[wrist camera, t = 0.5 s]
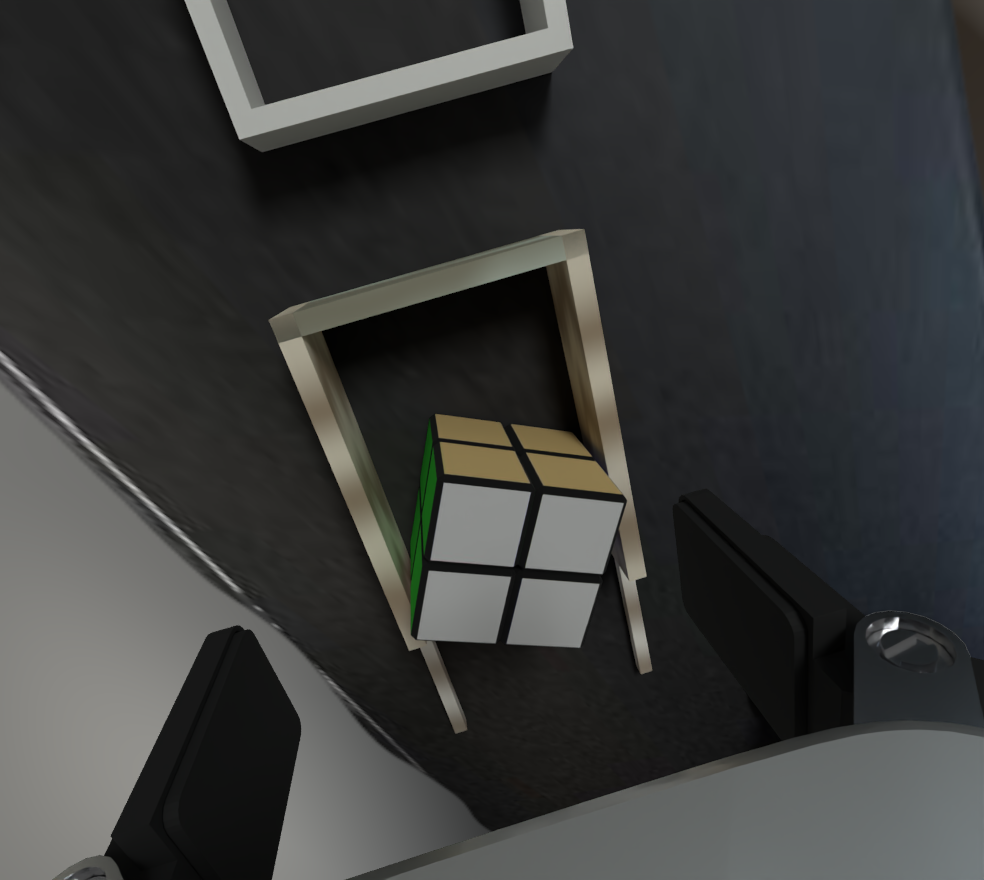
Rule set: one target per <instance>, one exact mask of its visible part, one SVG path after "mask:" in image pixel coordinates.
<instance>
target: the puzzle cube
mask: <svg viewBox="0 0 984 880" xmlns="http://www.w3.org/2000/svg"><path fill="white" fill-rule="evenodd" d="M626 504H627V499H626V498H625V496H624V495H623V493H622V492H621V491H620V490H619V489H618V487H617V486H616V485H615V484H614V482H613V481H612V480H611V479H610V478H609V476H608V475H607V474H606V473H605V472H604V470H603V469H602V468H601V467H600V465H599V464H598V463H597V462H596V461H595V459H594V458H593V457H592V455H591V454H590V453H589V452H588V451H587V449H586V448H585V447H584V446H583V445H582V443H581V442H580V441H579V440H578V439H577V437H576V436H575V435H574V434H573V433H572V432H568V431H560V430H553V429H545V428H538V427H530V426H522V425H515V424H509V425H508V426H507V427H505V428H504V427H503V425H502V424H501V423H500V422H493V421H485V420H478V419H470V418H462V417H455V416H447V415H440V414H434V415H433V416H431V417H430V418H429V424H428V431H427V437H426V444H425V450H424V457H423V463H422V470H421V476H420V487H419V491H418V497H417V504H416V510H415V517H414V523H413V530H412V536H411V636H412V637H413V638H414V639H415V640H423V641H443V642H463V643H483V644H495V643H497V642H498V641H499V640H501V642H502V643H503V644H504V645H519V646H539V647H559V648H581V647H582V646H583V645H584V642H585V639H586V635H587V632H588V629H589V625H590V622H591V619H592V615H593V612H594V609H595V606H596V602H597V599H598V596H599V592H600V589H601V586H602V583H603V580H602V579H601V577H600V575H602V574H603V573H605V572H606V569H607V566H608V563H609V560H610V556H611V553H612V550H613V546H614V543H615V540H616V537H617V533H618V530H619V527H620V523H621V520H622V517H623V514H624V510H625V507H626Z"/></svg>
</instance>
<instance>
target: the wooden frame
mask: <svg viewBox="0 0 984 880" xmlns="http://www.w3.org/2000/svg"><path fill="white" fill-rule="evenodd" d="M544 266H546V269H547V274H548V279H549V283H550V288H551V293H552V297H553V302H554V307H555V312H556V316H557V321H558V326H559V331H560V335H561V340H562V345H563V350H564V354H565V359H566V364H567V369H568V373H569V378H570V383H571V387H572V392H573V397H574V402H575V406H576V411H577V416H578V421H579V425H580V430H581V435H582V440H583V444H584V447H585V448H586V449H587V451H588V452H589V453H590V454H591V455H592V457H593V458H594V459H595V461H596V462H597V463H598V464H599V465H600V467H601V468H602V469H603V470H604V472H605V473H606V474H607V475H608V476H609V478H610V479H611V480H612V481H613V482H614V484H615V485H616V486H617V487H618V489H619V490H620V491H621V492H622V493H623V495H624V496H625V498H626V499H627V504H626V507H625V510H624V514H623V517H622V520H621V523H620V527H619V530H618V533H617V537H616V540H615V543H614V546H613V550H612V555H613V557H614V560H615V565H616V570H617V574H618V579H619V584H620V589H621V594H622V599H623V604H624V609H625V613H626V618H627V623H628V628H629V633H630V638H631V643H632V648H633V652H634V657H635V662H636V666H637V668H638V670H639V672H640V674H643V673H646V672H649V671H652V666H651V661H650V656H649V651H648V645H647V640H646V635H645V630H644V624H643V619H642V614H641V609H640V603H639V598H638V593H637V588H636V582H635V580H637V579H640V578H643V577H647V576H646V571H645V565H644V560H643V554H642V548H641V543H640V537H639V532H638V526H637V520H636V515H635V509H634V504H633V498H632V493H631V487H630V481H629V476H628V470H627V465H626V459H625V453H624V448H623V442H622V437H621V431H620V426H619V420H618V414H617V409H616V403H615V398H614V392H613V386H612V381H611V375H610V370H609V364H608V359H607V353H606V347H605V342H604V336H603V331H602V325H601V319H600V314H599V308H598V303H597V297H596V292H595V286H594V280H593V275H592V269H591V264H590V258H589V252H588V247H587V241H586V236H585V230H584V229H575V230H557V231H554V232H550V233H547V234H543V235H540V236H536V237H533V238H529V239H526V240H522V241H519V242H515V243H512V244H509V245H505V246H502V247H498V248H495V249H491V250H488V251H484V252H481V253H477V254H474V255H470V256H467V257H463V258H460V259H456V260H453V261H449V262H446V263H442V264H439V265H435V266H432V267H429V268H425V269H422V270H418V271H415V272H411V273H408V274H404V275H401V276H397V277H394V278H390V279H387V280H383V281H380V282H376V283H373V284H369V285H366V286H362V287H359V288H355V289H352V290H349V291H345V292H342V293H338V294H335V295H331V296H328V297H324V298H321V299H317V300H314V301H310V302H307V303H303V304H300V305H296V306H293V307H290V308H288V309H286V310H285V311H283V312H281V313H280V314H278V315H276V316H275V317H273V318H271V319H270V320H269V322H270V324H271V327H272V329H273V332H274V334H275V336H276V339H277V341H278V343H279V346H280V348H281V350H282V353H283V355H284V357H285V360H286V362H287V364H288V367H289V369H290V372H291V374H292V376H293V379H294V381H295V383H296V386H297V388H298V390H299V393H300V395H301V397H302V400H303V402H304V404H305V407H306V409H307V412H308V414H309V416H310V419H311V421H312V423H313V426H314V428H315V430H316V433H317V435H318V437H319V440H320V442H321V444H322V447H323V449H324V452H325V454H326V456H327V459H328V461H329V463H330V466H331V468H332V470H333V473H334V475H335V477H336V480H337V482H338V484H339V487H340V489H341V492H342V494H343V496H344V499H345V501H346V503H347V506H348V508H349V510H350V513H351V515H352V517H353V520H354V522H355V524H356V527H357V529H358V532H359V534H360V536H361V539H362V541H363V543H364V546H365V548H366V550H367V553H368V555H369V557H370V560H371V562H372V564H373V567H374V569H375V572H376V574H377V576H378V579H379V581H380V583H381V586H382V588H383V590H384V593H385V595H386V597H387V600H388V602H389V604H390V607H391V609H392V612H393V614H394V616H395V619H396V621H397V623H398V626H399V628H400V630H401V633H402V635H403V637H404V640H405V642H406V644H407V647H408V649H409V651H411V650H414V649H417V648H420V649H421V651H422V654H423V656H424V658H425V661H426V663H427V666H428V668H429V671H430V673H431V675H432V678H433V680H434V683H435V685H436V687H437V690H438V692H439V695H440V697H441V700H442V702H443V704H444V707H445V709H446V712H447V714H448V717H449V719H450V721H451V724H452V726H453V729H454V731H455V733H459V732H462V731H465V730H467V723H466V718H465V715H464V713H463V710H462V708H461V705H460V703H459V700H458V698H457V695H456V693H455V690H454V688H453V685H452V683H451V680H450V678H449V675H448V673H447V670H446V667H445V665H444V662H443V660H442V657H441V655H440V652H439V650H438V647H437V645H436V642H435V641H423V640H415V639H414V638H413V637H412V636H411V560H410V557H409V555H408V552H407V550H406V547H405V545H404V542H403V539H402V537H401V534H400V532H399V529H398V527H397V524H396V521H395V519H394V516H393V514H392V511H391V509H390V506H389V503H388V501H387V498H386V496H385V493H384V491H383V488H382V485H381V483H380V480H379V478H378V475H377V473H376V470H375V467H374V465H373V462H372V460H371V457H370V455H369V452H368V449H367V447H366V444H365V442H364V439H363V437H362V434H361V432H360V429H359V426H358V424H357V421H356V419H355V416H354V414H353V411H352V408H351V406H350V403H349V401H348V398H347V396H346V393H345V390H344V388H343V385H342V383H341V380H340V378H339V375H338V372H337V370H336V367H335V365H334V362H333V360H332V357H331V354H330V352H329V349H328V347H327V344H326V342H325V339H324V336H323V334H322V331H323V330H326V329H330V328H333V327H337V326H340V325H344V324H347V323H351V322H354V321H357V320H361V319H364V318H368V317H371V316H375V315H378V314H382V313H385V312H388V311H392V310H395V309H399V308H402V307H406V306H409V305H413V304H416V303H420V302H423V301H426V300H430V299H433V298H437V297H440V296H444V295H447V294H451V293H454V292H458V291H461V290H464V289H468V288H471V287H475V286H478V285H482V284H485V283H489V282H492V281H495V280H499V279H502V278H506V277H509V276H513V275H516V274H520V273H523V272H527V271H530V270H533V269H537V268H540V267H544Z"/></svg>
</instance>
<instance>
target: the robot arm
mask: <svg viewBox="0 0 984 880" xmlns="http://www.w3.org/2000/svg"><path fill="white" fill-rule="evenodd" d="M673 518H674V527H675V536H676V545H677V554H678V563H679V572H680V581H681V590H682V598H683V603H684V606H685V609H686V611H687V613H688V614H689V616H690V617H691V619H692V620H693V622H694V623H695V624H696V626H697V627H698V628H699V630H700V631H701V632H702V634H703V635H704V636H705V638H706V639H707V640H708V642H709V643H710V645H711V646H712V647H713V649H714V650H715V651H716V653H717V654H718V655H719V657H720V658H721V659H722V661H723V662H724V663H725V665H726V666H727V668H728V669H729V670H730V672H731V673H732V674H733V676H734V677H735V678H736V680H737V681H738V682H739V684H740V685H741V686H742V688H743V689H744V691H745V692H746V693H747V695H748V696H749V697H750V699H751V700H752V701H753V703H754V704H755V705H756V707H757V708H758V709H759V711H760V712H761V714H762V715H763V716H764V718H765V719H766V720H767V722H768V723H769V724H770V726H771V727H772V728H773V730H774V731H775V732H776V734H777V735H778V737H779V738H780V739H781V742H778V743H774V744H771V745H767V746H764V747H761V748H757V749H754V750H750V751H747V752H744V753H740V754H737V755H734V756H730V757H727V758H723V759H720V760H717V761H713V762H710V763H707V764H704V765H700V766H697V767H694V768H691V769H688V770H685V771H681V772H678V773H675V774H672V775H669V776H666V777H662V778H659V779H656V780H653V781H650V782H647V783H643V784H640V785H637V786H634V787H631V788H628V789H624V790H621V791H618V792H615V793H612V794H609V795H605V796H602V797H599V798H596V799H593V800H590V801H586V802H583V803H580V804H577V805H574V806H571V807H568V808H565V809H562V810H558V811H555V812H552V813H549V814H546V815H543V816H540V817H537V818H533V819H530V820H527V821H524V822H521V823H518V824H515V825H512V826H509V827H505V828H502V829H499V830H496V831H493V832H490V833H487V834H484V835H481V836H478V837H475V838H471V839H468V840H465V841H462V842H459V843H456V844H453V845H450V846H447V847H444V848H441V849H438V850H434V851H431V852H428V853H425V854H422V855H419V856H416V857H413V858H410V859H407V860H404V861H401V862H398V863H395V864H392V865H389V866H386V867H383V868H379V869H377V870H374V871H370V872H367V873H364V874H361V875H358V876H355V877H352V878H349V879H346V880H984V660H981V659H976V658H972V657H970V654H969V652H968V650H967V648H966V646H965V644H964V643H963V642H962V641H961V640H960V639H959V637H958V636H957V635H956V634H955V633H954V632H952V631H950V630H949V629H947V628H946V627H944V626H943V625H941V624H940V623H938V622H935V621H933V620H931V619H928V618H926V617H923V616H920V615H916V614H912V613H908V612H899V611H883V612H875V613H873V614H870V615H868V616H865V615H863V614H862V613H861V612H860V611H859V610H857V609H856V608H855V607H854V606H853V605H852V604H850V603H849V602H848V601H847V600H846V599H844V598H843V597H842V596H841V595H840V594H838V593H837V592H836V591H835V590H834V589H832V588H831V587H830V586H829V585H828V584H826V583H825V582H824V581H823V580H822V579H821V578H819V577H818V576H817V575H816V574H815V573H813V572H812V571H811V570H810V569H809V568H807V567H806V566H805V565H804V564H803V563H801V562H800V561H799V560H798V559H797V558H795V557H794V556H793V555H792V554H791V553H790V552H788V551H787V550H786V549H785V548H784V547H782V546H781V545H780V544H779V543H778V542H776V541H775V540H774V539H772V538H771V537H769V536H765V535H761V534H760V533H759V532H758V531H756V530H755V529H754V528H753V527H752V526H750V525H749V524H748V523H747V522H746V521H745V520H743V519H742V518H741V517H740V516H739V515H738V514H736V513H735V512H734V511H733V510H732V509H731V508H729V507H728V506H727V505H726V504H725V503H724V502H722V501H721V500H720V499H719V498H718V497H717V496H715V495H714V494H713V493H712V492H711V491H709V490H708V489H701V490H698V491H695V492H691V493H688V494H684V495H681V496H680V497H679V503H677V504H674V505H673ZM300 736H301V723H300V719H299V716H298V714H297V712H296V710H295V708H294V707H293V705H292V703H291V701H290V699H289V697H288V696H287V694H286V692H285V690H284V688H283V686H282V684H281V683H280V681H279V680H278V677H277V675H276V673H275V672H274V670H273V668H272V666H271V664H270V663H269V661H268V659H267V657H266V655H265V653H264V651H263V649H262V648H261V646H260V644H259V642H258V640H257V638H256V637H255V635H254V633H253V632H252V631H251V630H244V629H243V628H242V627H241V626H233V627H230V628H227V629H223V630H219V631H216V632H213V633H210V634H209V635H208V636H207V637H206V639H205V641H204V643H203V645H202V647H201V649H200V651H199V653H198V656H197V657H196V659H195V662H194V664H193V666H192V668H191V670H190V672H189V674H188V676H187V678H186V680H185V683H184V684H183V687H182V689H181V691H180V693H179V695H178V697H177V699H176V701H175V703H174V705H173V707H172V709H171V711H170V714H169V716H168V718H167V720H166V722H165V724H164V726H163V728H162V730H161V732H160V734H159V736H158V739H157V741H156V743H155V745H154V747H153V749H152V751H151V753H150V755H149V757H148V759H147V761H146V764H145V766H144V768H143V770H142V772H141V774H140V776H139V778H138V780H137V782H136V784H135V787H134V788H133V791H132V793H131V795H130V797H129V799H128V801H127V803H126V805H125V807H124V809H123V812H122V813H121V816H120V818H119V820H118V822H117V824H116V826H115V828H114V830H113V832H112V834H111V837H112V840H111V842H110V845H109V847H108V849H107V851H106V853H105V855H104V856H101V855H99V856H95V857H90V858H86V859H84V860H82V861H80V862H78V863H76V864H74V865H72V866H71V867H69V868H67V869H66V870H65V871H63V872H62V873H60V874H59V875H58V876H57V877H55V878H54V879H53V880H272V876H273V871H274V866H275V861H276V856H277V851H278V846H279V841H280V836H281V831H282V826H283V821H284V816H285V811H286V806H287V801H288V796H289V791H290V786H291V781H292V776H293V771H294V766H295V761H296V756H297V751H298V746H299V741H300Z"/></svg>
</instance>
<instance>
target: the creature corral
mask: <svg viewBox="0 0 984 880" xmlns="http://www.w3.org/2000/svg"><path fill="white" fill-rule="evenodd" d="M519 1H520V6H521V11H522V16H523V21H524V27H525V32H526V34H525V35H521V36H517V37H514V38H510V39H506V40H503V41H499V42H495V43H492V44H488V45H484V46H481V47H477V48H473V49H470V50H466V51H462V52H459V53H455V54H451V55H448V56H444V57H440V58H437V59H433V60H429V61H426V62H422V63H418V64H415V65H411V66H407V67H404V68H400V69H396V70H393V71H389V72H385V73H382V74H378V75H374V76H371V77H367V78H363V79H360V80H356V81H352V82H349V83H345V84H341V85H338V86H334V87H330V88H327V89H323V90H319V91H316V92H312V93H308V94H305V95H301V96H297V97H294V98H290V99H286V100H283V101H279V102H275V103H272V104H268V105H265V104H264V101H263V98H262V95H261V93H260V90H259V87H258V85H257V82H256V79H255V76H254V74H253V71H252V68H251V66H250V63H249V60H248V57H247V55H246V52H245V49H244V47H243V44H242V41H241V39H240V36H239V33H238V30H237V28H236V25H235V22H234V20H233V17H232V14H231V11H230V9H229V6H228V3H227V1H226V0H185V3H186V5H187V8H188V10H189V13H190V15H191V18H192V21H193V23H194V26H195V28H196V31H197V33H198V36H199V38H200V41H201V43H202V46H203V48H204V51H205V54H206V56H207V59H208V61H209V64H210V66H211V69H212V71H213V74H214V76H215V79H216V81H217V84H218V87H219V89H220V92H221V94H222V97H223V99H224V102H225V104H226V107H227V109H228V112H229V114H230V117H231V120H232V122H233V125H234V127H235V130H236V132H237V135H238V137H239V140H241V141H243V142H245V143H246V144H248V145H250V146H252V147H254V148H255V149H257V150H259V151H261V152H265V151H269V150H272V149H276V148H279V147H283V146H287V145H290V144H294V143H298V142H301V141H305V140H308V139H312V138H316V137H319V136H323V135H327V134H330V133H334V132H337V131H341V130H345V129H348V128H352V127H356V126H359V125H363V124H366V123H370V122H374V121H377V120H381V119H385V118H388V117H392V116H395V115H399V114H403V113H406V112H410V111H413V110H417V109H421V108H424V107H428V106H432V105H435V104H439V103H442V102H446V101H450V100H453V99H457V98H461V97H464V96H468V95H471V94H475V93H479V92H482V91H486V90H490V89H493V88H497V87H500V86H504V85H508V84H511V83H515V82H518V81H522V80H526V79H529V78H533V77H537V76H540V75H544V74H547V73H551V72H553V71H554V69H555V68H556V67H557V66H558V65H559V64H560V63H561V61H562V60H563V59H564V58H565V57H566V56H567V54H568V53H569V52H570V51H571V50H572V49H573V44H572V38H571V32H570V26H569V20H568V14H567V8H566V2H565V0H519Z"/></svg>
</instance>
